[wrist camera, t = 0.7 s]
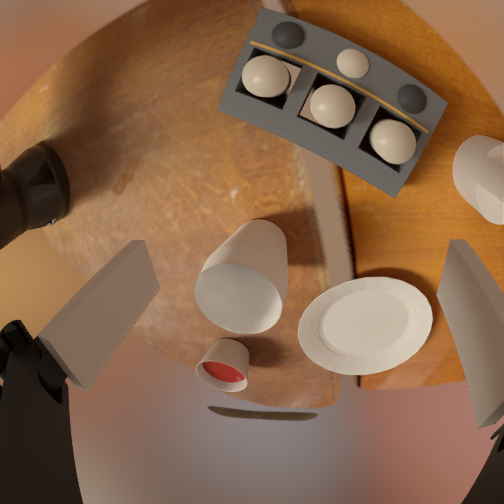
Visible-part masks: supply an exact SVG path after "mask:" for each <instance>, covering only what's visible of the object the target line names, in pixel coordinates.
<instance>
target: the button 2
mask: <svg viewBox="0 0 504 504" xmlns="http://www.w3.org/2000/svg"><path fill="white" fill-rule="evenodd" d="M310 110H311V113H312V115H313V117H314V118H315V119H316V121H317V122H319V123H320V124H321V125H323V126H325V127H329V128H339V127H343V126H345V125H346V124H348V123H349V122H350V121H351V120H352V118H353V116H354V114H355V102H354V99H353V97H352V96H351V94H350V93H349V92H348V91H347V90H346V89H344V88H342V87H340V86H337V85H324V86H322V87H320V88H318V89H317V90H316V91H315V92H314V93H313V95H312V97H311V99H310Z"/></svg>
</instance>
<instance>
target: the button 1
mask: <svg viewBox="0 0 504 504" xmlns="http://www.w3.org/2000/svg"><path fill="white" fill-rule="evenodd" d="M242 81H243V84H244V86H245V87H246V89H247V90H248V91H249V92H251V93H252V94H254V95H256V96H260V97H278V96H280V95H282V94H284V93H285V92H286V91H287V90H288V88H289V87H290V84H291V75H290V72H289V70H288V69H287V68H286V67H285V66H284V65H283V64H282V63H281V62H280V61H279V60H278V59H276V58H274V57H271V56H265V55H264V56H258V57H255V58H253V59H251V60H250V61H249V62H248V63H247V64H246V65H245V67H244V69H243V72H242Z"/></svg>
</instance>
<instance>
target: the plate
mask: <svg viewBox="0 0 504 504" xmlns="http://www.w3.org/2000/svg"><path fill="white" fill-rule="evenodd" d="M432 322H433V316H432V308H431V306H430V304H429V302H428V300H427V298H426V296H425V295H424V294H423V293H422V292H421V291H419V290H418V289H417V288H416V287H415V286H413V285H411V284H409V283H407V282H405V281H403V280H399V279H394V278H389V277H364V278H359V279H355V280H350V281H346V282H344V283H342V284H339V285H337V286H334V287H332V288H330V289H328V290H327V291H325V292H324V293H323V294H321V295H320V296H318V297H317V298H315V300H314V301H313V302H312V303H311V304H310V305H309V306H308V308H307V309H306V310H305V312H304V314H303V316H302V318H301V320H300V322H299V329H298V337H299V341H300V345H301V347H302V349H303V350H304V352H305V354H306V355H307V356H308V357H309V358H310V359H311V360H312V361H313V362H314V363H316V364H318V365H319V366H321V367H323V368H325V369H327V370H330V371H333V372H336V373H341V374H348V375H367V374H373V373H379V372H382V371H385V370H388V369H391V368H394V367H396V366H398V365H399V364H401V363H403V362H405V361H406V360H408V359H409V358H410V357H412V356H413V355H414V354H415V353H416V352H417V351H418V350H419V349H420V348H421V347H422V345H423V344H424V343H425V341H426V339H427V338H428V336H429V334H430V332H431V327H432Z"/></svg>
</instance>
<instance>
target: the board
mask: <svg viewBox="0 0 504 504" xmlns="http://www.w3.org/2000/svg"><path fill="white" fill-rule="evenodd" d="M261 54H265V55H268V56H271V57H274V58H276V59H279V60H282V61H284V62H287V63H289V64H292V65H294V66H297V67H299V68H301V71H300V73H299V75H298V77H297V79H296V81H295V84H294V86H293V88H292V90H291V92H290V94H289V96H288V98H287V101H286V103H285V105H284V107H281V106H278V105H276V104H274V103H271V102H269V101H266V100H264V99H261V98H259V97H256V96H254V95H251V94H249V93H246V92H245V90H246V87H245V86H244V84H243V81H242V72H243V69H244V67H245V65H246V64H247V63H248V62H249V61H250V60H251V59H253V58H255V57H258V56H261ZM318 76H319V77H321V78H324V79H326V80H328V81H330V82H332V83H334V84H336V85H338V86H340V87H342V88H344V89H346V90H348V91H350V92H351V93H353V94H355V95H357V96H359V97H360V99H359V101H358V103H357V105H356V107H355V114H354V116H353V118H352V120H351V121H350V122H349V123H348V124H347V125H346V127H345V129H344V131H343V133H342V134H341V135H339V134H337V133H335V132H333V131H331V130H329V129H327V128H325V127H323V126H321V125H319V124H317V123H315V122H313V121H311V120H309V119H307V118H305V117H303V116H301V115H299V114H300V112H301V110H302V108H303V106H304V104H305V102H306V100H307V98H308V96H309V94H310V92H311V89H312V87H313V85H314V83H315V81H316V79H317V77H318ZM447 104H448V102H446V101H445V100H444V99H443V98H441V97H440V96H439V95H437V94H436V93H435V92H433V91H432V90H431V89H429V88H428V87H426V86H425V85H424V84H422V83H421V82H419V81H418V80H416V79H415V78H414V77H412V76H411V75H409V74H407V73H406V72H404V71H403V70H401V69H400V68H398V67H396V66H395V65H393V64H392V63H390V62H388V61H386V60H385V59H383V58H381V57H380V56H378V55H376V54H374V53H372V52H371V51H369V50H367V49H365V48H363V47H361V46H359V45H357V44H355V43H353V42H351V41H349V40H347V39H345V38H343V37H341V36H339V35H336V34H334V33H332V32H330V31H327V30H325V29H323V28H320V27H318V26H315V25H313V24H310V23H308V22H305V21H302V20H300V19H297V18H294V17H291V16H288V15H285V14H282V13H279V12H276V11H272V10H269V9H266V8H261V10H260V12H259V14H258V16H257V19H256V21H255V23H254V25H253V27H252V29H251V31H250V33H249V35H248V37H247V39H246V42H245V44H244V46H243V48H242V50H241V53H240V55H239V57H238V59H237V62H236V64H235V66H234V69H233V71H232V73H231V76H230V78H229V80H228V83H227V85H226V88H225V90H224V93H223V95H222V98H221V100H220V103H219V105H218V108H217V110H218V111H220V112H223V113H226V114H228V115H231V116H233V117H236V118H238V119H241V120H243V121H246V122H248V123H250V124H253V125H255V126H258V127H260V128H262V129H265V130H267V131H269V132H271V133H274V134H276V135H278V136H280V137H282V138H285V139H287V140H289V141H291V142H293V143H295V144H297V145H299V146H301V147H303V148H305V149H307V150H309V151H312V152H314V153H315V154H317V155H319V156H321V157H323V158H325V159H327V160H329V161H331V162H333V163H335V164H336V165H338V166H340V167H342V168H344V169H346V170H347V171H349V172H351V173H353V174H355V175H356V176H358V177H360V178H362V179H363V180H365V181H367V182H368V183H370V184H372V185H373V186H375V187H377V188H378V189H380V190H382V191H383V192H385V193H387V194H388V195H390V196H391V197H393V198H396V196H397V195H398V193H399V191H400V190H401V188H402V186H403V185H404V183H405V181H406V180H407V178H408V176H409V175H410V173H411V171H412V170H413V168H414V166H415V164H416V163H417V161H418V159H419V157H420V156H421V154H422V152H423V150H424V148H425V147H426V145H427V143H428V141H429V139H430V137H431V136H432V134H433V132H434V130H435V128H436V126H437V124H438V122H439V120H440V118H441V116H442V114H443V112H444V110H445V108H446V106H447ZM378 108H380V109H381V110H383V111H385V112H386V113H388V114H389V115H391V116H393V117H394V118H396V119H397V120H399V121H400V122H402V123H404V124H405V125H407V126H408V127H409V128H411V130H412V132H413V134H414V136H415V140H416V148H415V152H414V154H413V156H412V157H411V158H410V159H409V160H408V161H406V162H404V163H402V164H392V163H391V165H390V164H389V163H387V162H385V161H384V160H382V159H380V158H379V157H377V156H376V155H374V154H372V153H371V152H369V151H367V150H365V149H364V148H362V147H360V146H359V144H360V143H361V141H362V139H363V137H364V135H365V133H366V131H367V129H368V128H369V126H370V124H371V122H372V120H373V118H374V116H375V114H376V112H377V110H378Z"/></svg>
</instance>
